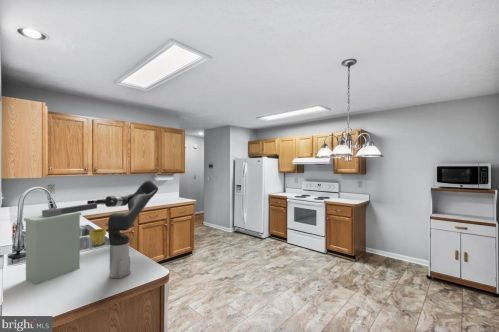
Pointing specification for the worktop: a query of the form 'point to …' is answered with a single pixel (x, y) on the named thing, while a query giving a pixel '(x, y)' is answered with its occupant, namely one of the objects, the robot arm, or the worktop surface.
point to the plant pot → (98, 236)
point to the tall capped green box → (52, 246)
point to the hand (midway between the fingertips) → (92, 202)
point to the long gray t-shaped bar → (68, 210)
